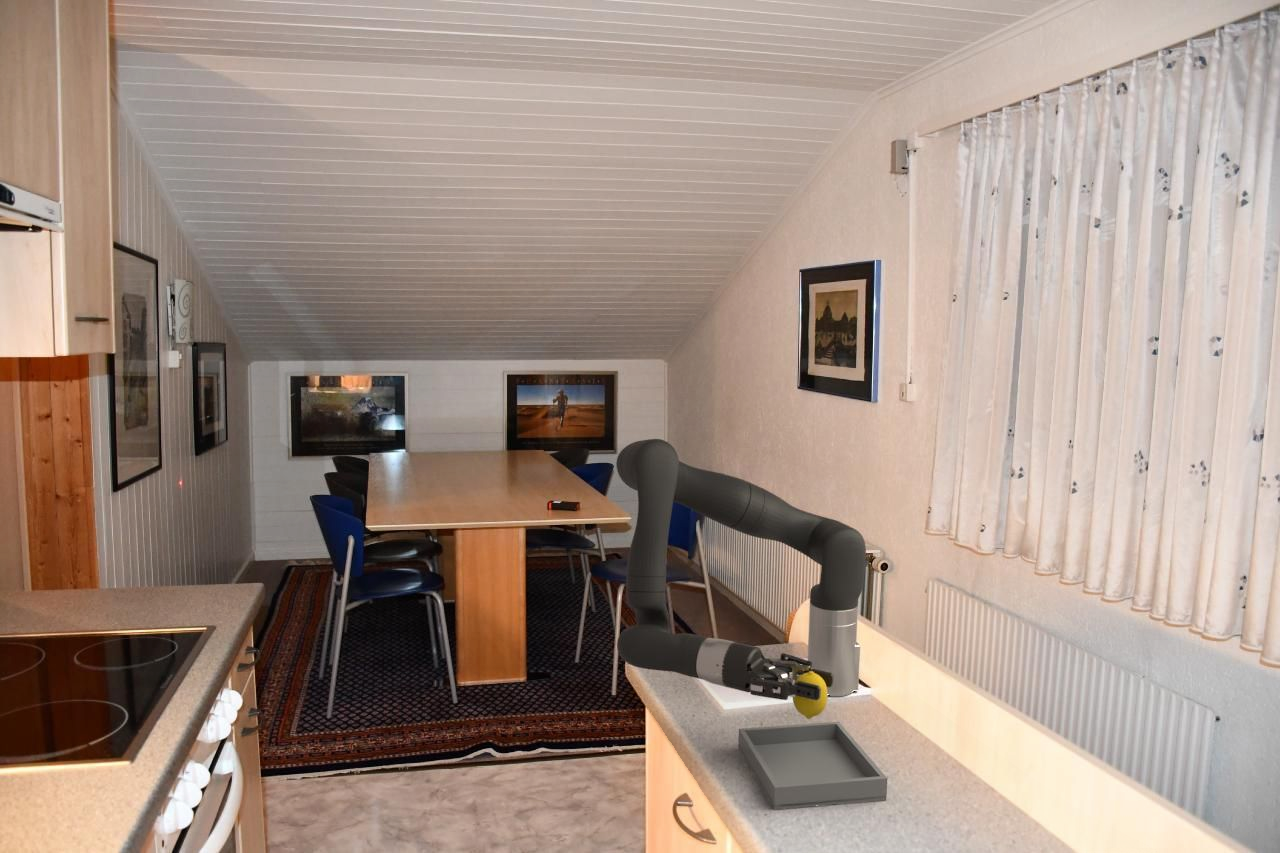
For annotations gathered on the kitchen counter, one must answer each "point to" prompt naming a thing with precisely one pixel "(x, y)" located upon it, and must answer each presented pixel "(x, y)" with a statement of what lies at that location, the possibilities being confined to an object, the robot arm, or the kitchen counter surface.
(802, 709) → the lemon
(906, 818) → the kitchen counter surface
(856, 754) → the tray
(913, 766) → the kitchen counter surface
